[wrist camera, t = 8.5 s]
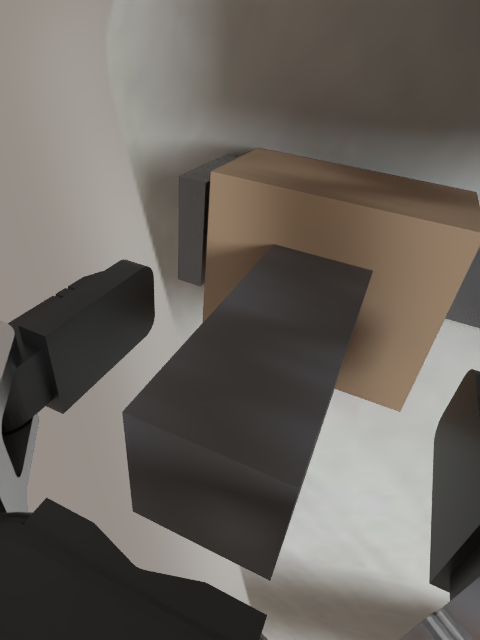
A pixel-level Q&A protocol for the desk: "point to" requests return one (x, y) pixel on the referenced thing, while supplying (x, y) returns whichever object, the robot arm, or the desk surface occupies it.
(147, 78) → the desk surface
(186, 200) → the rail
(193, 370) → the carriage
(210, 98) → the desk surface
